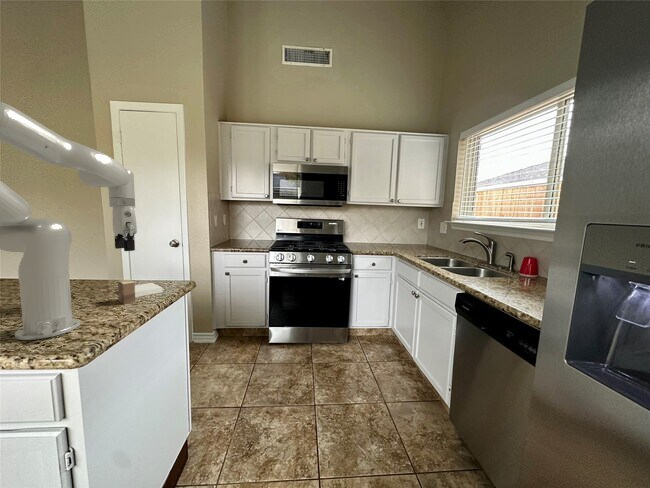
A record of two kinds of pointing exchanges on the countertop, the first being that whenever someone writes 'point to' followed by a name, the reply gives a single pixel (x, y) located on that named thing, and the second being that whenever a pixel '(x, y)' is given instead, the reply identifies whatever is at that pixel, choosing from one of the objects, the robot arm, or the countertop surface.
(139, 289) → the cutting board
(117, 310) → the countertop surface
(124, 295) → the two-tone wooden block
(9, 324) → the countertop surface
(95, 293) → the countertop surface
